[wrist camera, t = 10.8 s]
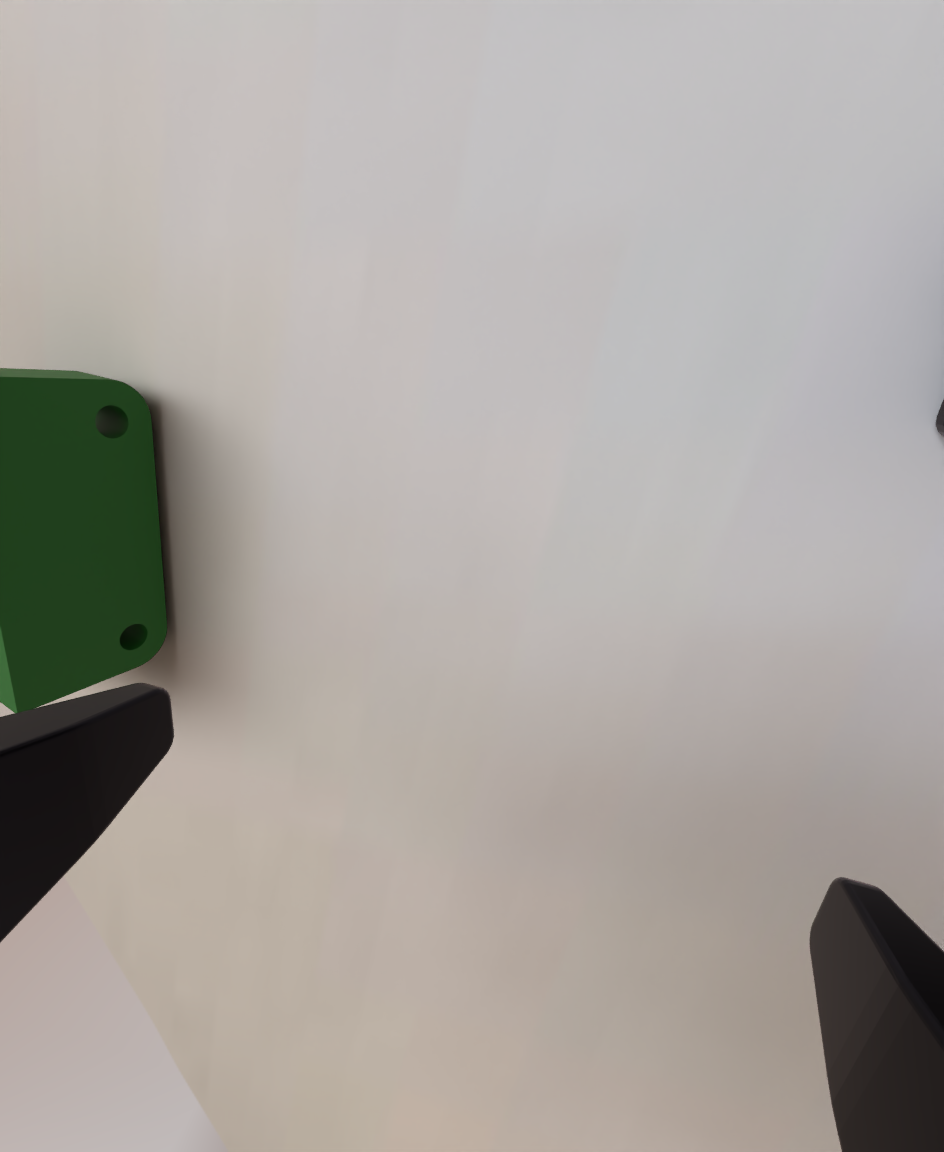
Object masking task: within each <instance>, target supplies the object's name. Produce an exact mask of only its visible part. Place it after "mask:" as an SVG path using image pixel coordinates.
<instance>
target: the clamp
mask: <svg viewBox="0 0 944 1152" xmlns="http://www.w3.org/2000/svg"><path fill="white" fill-rule="evenodd" d="M166 633H167V619H166V606H165V593H164V580H163V566H162V553H161V540H160V527H159V514H158V500H157V487H156V474H155V461H154V448H153V434H152V421H151V415H150V411H149V408H148V406H147V404H146V402H145V400H144V399H143V397H142V396H141V395H140V394H139V393H138V392H137V391H136V390H135V389H134V388H132V387H131V386H129V385H127V384H125V383H123V382H120V381H116V380H112V379H108V378H104V377H100V376H96V375H92V374H87V373H83V372H78V371H62V370H35V369H7V368H0V702H1V703H3V704H4V705H5V706H7V707H8V708H9V709H11V710H12V711H13V712H15V713H19V712H23V711H27V710H31V709H34V708H37V707H39V706H41V705H44V704H46V703H49V702H51V701H54V700H56V699H59V698H61V697H64V696H66V695H69V694H71V693H74V692H76V691H79V690H81V689H84V688H86V687H89V686H91V685H94V684H96V683H99V682H101V681H104V680H106V679H109V678H111V677H114V676H116V675H119V674H121V673H124V672H126V671H129V670H131V669H134V668H136V667H139V666H141V665H143V664H144V663H146V662H147V661H149V660H150V659H151V658H152V657H153V656H154V655H155V654H156V653H157V652H158V651H159V649H160V648H161V646H162V644H163V642H164V640H165V637H166Z"/></svg>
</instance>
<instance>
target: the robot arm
mask: <svg viewBox="0 0 944 1152" xmlns="http://www.w3.org/2000/svg"><path fill="white" fill-rule="evenodd" d="M936 426H937V430H938V432H939V433H940V434H941V435H943V436H944V400H943V402H942V405H941V408H940V410H939V413H938V415H937V420H936ZM173 738H174V729H173V719H172V709H171V699H170V695H169V694H168V692H167V691H166V690H165V689H163V688H161V687H157V686H153V685H150V684H146V683H135V684H131V685H127V686H123V687H119V688H115V689H111V690H107V691H103V692H99V693H95V694H91V695H87V696H83V697H79V698H75V699H71V700H67V701H63V702H59V703H55V704H51V705H47V706H43V707H39V708H35V709H31V710H27V711H23V712H19V713H15V714H11V715H7V716H3V717H0V942H1V941H2V940H3V939H4V938H5V937H6V936H7V935H8V934H9V933H10V932H11V931H12V930H13V929H14V928H15V926H16V925H17V924H18V923H19V922H20V921H21V920H22V919H23V918H24V917H25V916H26V915H27V914H28V913H29V912H30V911H31V910H32V908H33V907H34V906H35V905H36V904H37V903H38V902H39V901H40V900H41V899H42V898H43V897H44V896H45V895H46V894H47V893H48V891H50V890H51V888H52V887H53V886H54V885H55V884H56V883H57V882H58V881H59V880H60V879H61V878H62V877H63V876H64V875H65V874H66V873H67V872H68V871H69V870H70V868H71V867H72V866H73V865H74V864H75V863H76V862H77V861H78V860H79V859H80V858H81V857H82V856H83V855H84V854H85V852H86V851H87V850H88V849H89V848H90V847H91V846H92V845H93V844H94V843H95V841H96V840H97V839H98V838H99V837H100V836H101V834H102V833H103V832H104V831H105V830H106V828H107V827H108V826H109V825H110V824H111V822H112V821H113V820H114V819H115V817H116V816H117V815H118V814H119V812H120V811H121V810H122V809H123V807H124V806H125V805H126V804H127V802H128V801H129V800H130V799H131V797H132V796H133V795H134V794H135V792H136V791H137V790H138V789H139V787H140V786H141V785H142V784H143V782H144V781H145V780H146V779H147V777H148V776H149V775H150V774H151V772H152V771H153V770H154V769H155V767H156V766H157V765H158V764H159V762H160V761H161V760H162V759H163V757H164V756H165V755H166V754H167V752H168V751H169V749H170V747H171V745H172V742H173ZM810 953H811V960H812V967H813V975H814V982H815V989H816V997H817V1004H818V1012H819V1019H820V1026H821V1034H822V1041H823V1048H824V1056H825V1063H826V1071H827V1078H828V1084H829V1090H830V1096H831V1103H832V1108H833V1112H834V1117H835V1122H836V1127H837V1131H838V1136H839V1140H840V1144H841V1149H842V1152H944V951H943V950H942V949H941V948H940V947H939V946H938V945H937V944H936V943H935V942H934V941H933V940H932V939H931V938H930V937H929V936H928V935H927V934H926V933H925V932H924V931H923V930H922V929H921V928H920V927H919V926H918V925H917V924H916V923H915V922H914V921H913V920H912V919H911V918H910V917H909V916H908V915H907V914H906V913H905V912H904V911H903V910H902V909H901V908H900V907H899V906H898V905H897V904H896V903H895V902H894V901H893V900H892V899H891V898H890V897H888V896H887V895H886V894H885V893H884V892H883V891H882V890H881V889H879V888H878V887H875V886H873V885H870V884H866V883H863V882H859V881H855V880H852V879H848V878H844V877H840V878H836V879H835V880H834V881H833V882H832V883H831V885H830V887H829V889H828V891H827V893H826V895H825V898H824V900H823V902H822V904H821V906H820V909H819V911H818V913H817V915H816V917H815V920H814V922H813V924H812V927H811V932H810Z"/></svg>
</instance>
